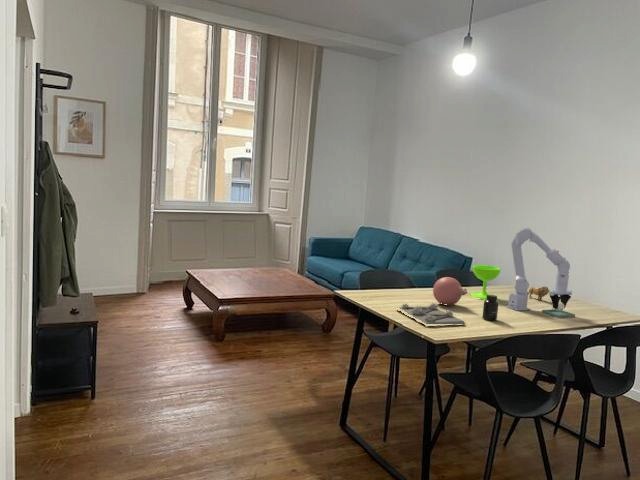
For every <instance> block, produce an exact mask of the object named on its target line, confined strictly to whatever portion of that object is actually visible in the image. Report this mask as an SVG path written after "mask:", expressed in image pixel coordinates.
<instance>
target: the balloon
mask: <svg viewBox="0 0 640 480" xmlns="http://www.w3.org/2000/svg"><path fill="white" fill-rule="evenodd" d="M432 294H433V297H434V299H435V300H436V301H437V302H438V303H439V304H441V303H442V304H441V305H443V304H447V305H446V306H452V305H455V304H457V303H458V302H459V301H460V300H461V299H462V296H465V295H467V294H468V291H467V288H466V287H464V288H463V287H462V285H461V283H460V282H459V281H458V280H457V279H456V278H454V277H451V276H450V277H449V276H445V277H441V278H439V279H437V281H436V282H435V283H434V285H433V289H432Z"/></svg>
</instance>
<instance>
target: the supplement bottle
mask: <svg viewBox="0 0 640 480" xmlns="http://www.w3.org/2000/svg"><path fill="white" fill-rule="evenodd" d="M497 298H498V295H494V294H491V295H487V298H486V299H487V300H483V307H482V308H483V309H482V319H483V318H484V319H483V320H485V319H486V320H485V321H488V320H490V321H489V322H495V321H497V319H498V313H499V312H498V311H499V301H497V300H498V299H497Z"/></svg>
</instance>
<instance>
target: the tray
mask: <svg viewBox="0 0 640 480" xmlns="http://www.w3.org/2000/svg"><path fill="white" fill-rule="evenodd" d="M541 311H542V312H541V313H542V314H545V315H549V316H552V317H555V318H557V319H565V318H567V319H568V318H575V317H576V314H575V313H572V312H569V311H566V310H564V309H563V310H562V311H557V310H555V309H554V308H551V309H549V308H548V309H542V310H541Z"/></svg>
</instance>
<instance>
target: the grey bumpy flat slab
mask: <svg viewBox="0 0 640 480" xmlns="http://www.w3.org/2000/svg"><path fill="white" fill-rule="evenodd" d="M398 307H399V308H400V309H402V310H404V311H405V312H407V313H408V314H410V315H412V316H413V317H415V318H417V319H419V320H421V321H422V322H424V323H426V324H464V325H465V324H466V322H465V321H464V320H462V319H461V318H458V317H457V316H454V312H453V311H452V310H451V309H448V310H446V311H443V310H441V309H439V306H438V304H436V302H433V301H432V302H431V303H429V304H428V305H426V306H425V305H423V306H422V305H420V306H419V305H416V306H409V304H408V303H406V302H404V303H401V305H400V306H398Z"/></svg>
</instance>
